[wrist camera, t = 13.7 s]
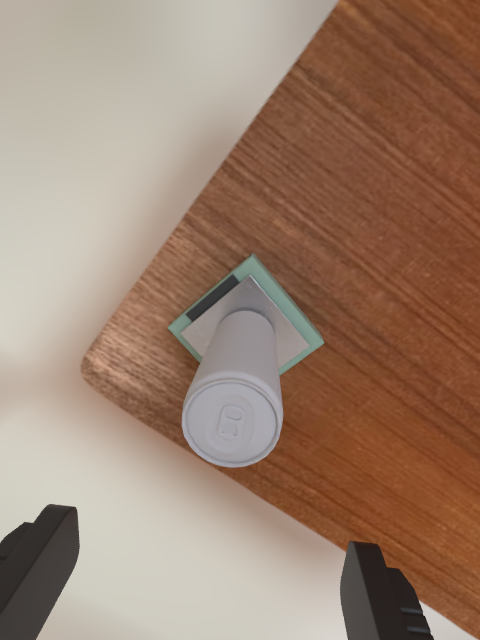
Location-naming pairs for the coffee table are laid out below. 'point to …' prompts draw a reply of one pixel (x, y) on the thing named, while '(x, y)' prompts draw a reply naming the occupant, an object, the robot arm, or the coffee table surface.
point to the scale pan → (247, 299)
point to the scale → (275, 293)
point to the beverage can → (235, 394)
